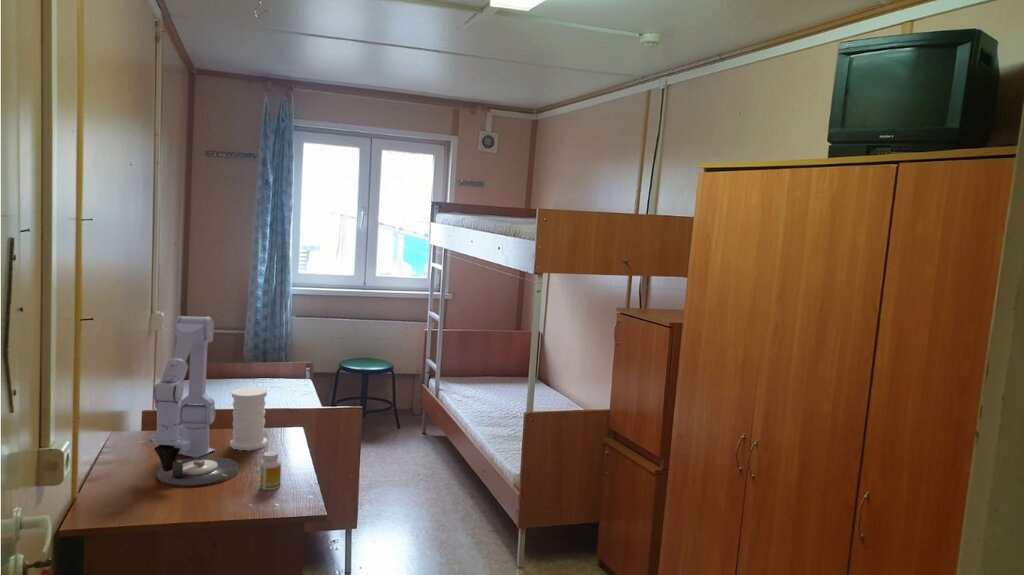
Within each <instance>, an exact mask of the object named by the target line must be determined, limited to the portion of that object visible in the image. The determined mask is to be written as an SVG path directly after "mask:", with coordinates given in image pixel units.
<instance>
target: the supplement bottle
mask: <svg viewBox="0 0 1024 575" xmlns="http://www.w3.org/2000/svg"><path fill="white" fill-rule="evenodd" d="M262 458H263V460H261V463H260V472H259V473H260V475H259V476H260V478H259V479H260V480H259V481H260V482H259V484H260V489H262V490H266V491H273V490H277V489H279V488H280V487H281V477H282V476H281V470H282V469H281V468H282V465H281V464H282V463H281V461H280V459H279V452H277V451H271V450H270V451H265V452H264V453H263V457H262Z"/></svg>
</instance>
